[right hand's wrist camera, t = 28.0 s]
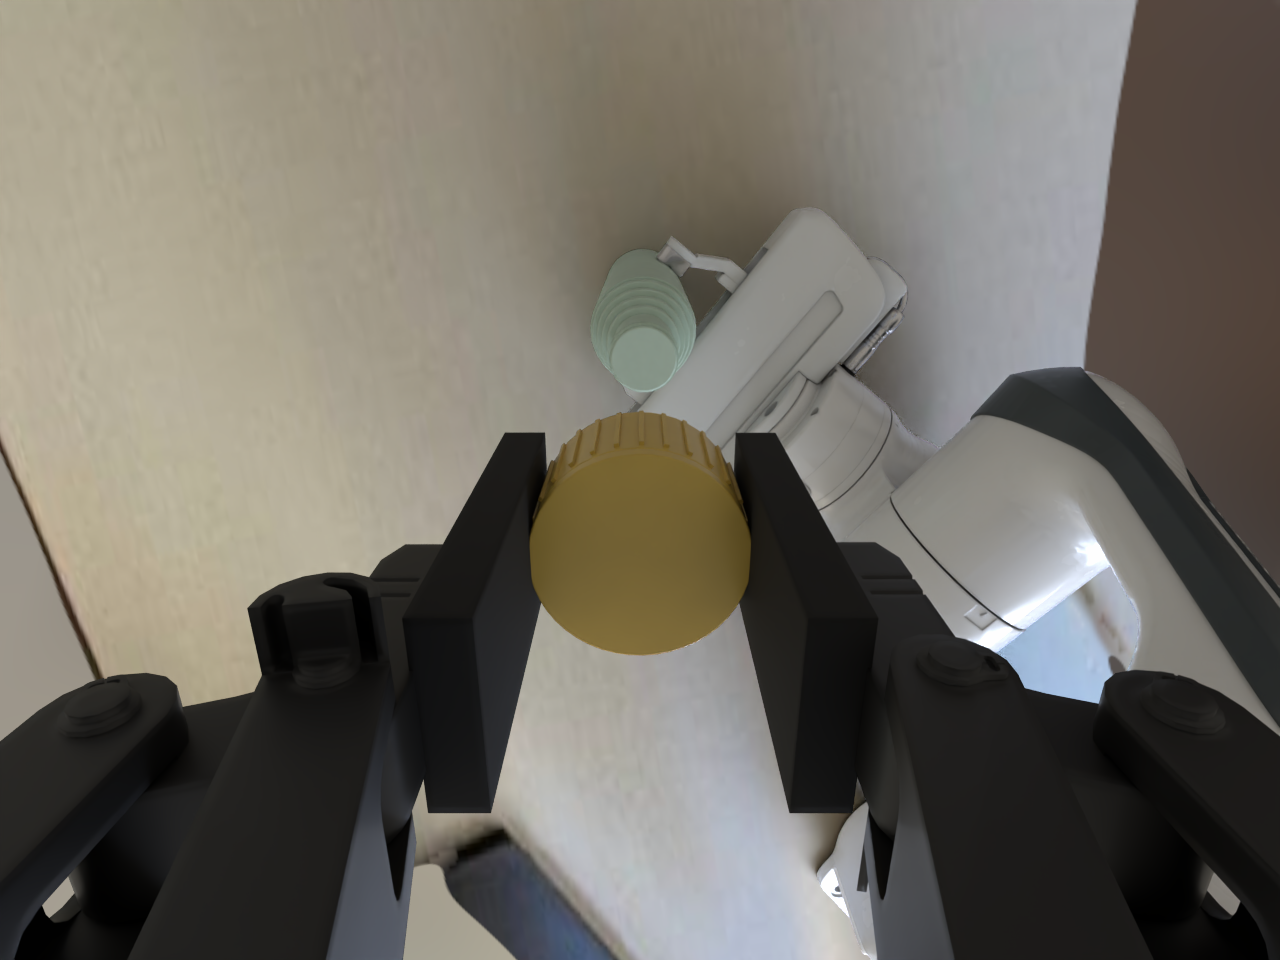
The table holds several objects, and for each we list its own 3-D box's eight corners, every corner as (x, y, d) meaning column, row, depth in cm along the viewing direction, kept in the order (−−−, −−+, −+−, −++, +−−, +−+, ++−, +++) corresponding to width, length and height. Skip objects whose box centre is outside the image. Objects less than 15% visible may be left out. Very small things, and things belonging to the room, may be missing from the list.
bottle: (688, 262, 49) (725, 317, 27) (665, 332, 51) (683, 436, 29) (618, 239, 49) (600, 276, 27) (597, 310, 50) (564, 400, 28)
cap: (509, 538, 15) (485, 601, 12) (597, 371, 13) (589, 407, 11) (676, 618, 15) (683, 691, 13) (776, 466, 14) (801, 518, 12)
